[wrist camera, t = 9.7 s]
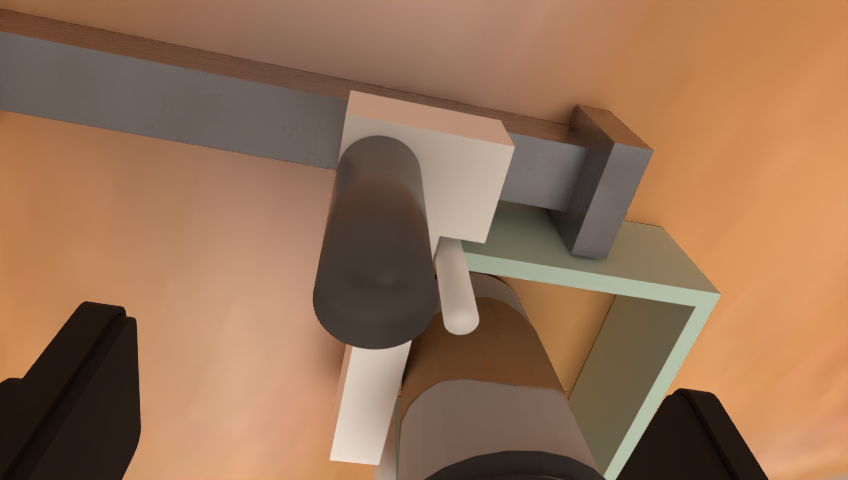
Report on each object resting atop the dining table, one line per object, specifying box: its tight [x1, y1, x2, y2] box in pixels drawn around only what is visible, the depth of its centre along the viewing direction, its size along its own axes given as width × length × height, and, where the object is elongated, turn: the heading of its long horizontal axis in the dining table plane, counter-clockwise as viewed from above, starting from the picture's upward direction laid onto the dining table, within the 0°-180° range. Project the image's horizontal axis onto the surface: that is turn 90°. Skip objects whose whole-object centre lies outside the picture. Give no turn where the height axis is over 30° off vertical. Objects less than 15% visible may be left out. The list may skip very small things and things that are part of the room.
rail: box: [0, 9, 653, 260], centre depth 23 cm, size 5×28×5 cm, turn 78°
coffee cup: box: [398, 272, 606, 480], centre depth 25 cm, size 8×8×15 cm
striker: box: [313, 90, 515, 465], centre depth 22 cm, size 17×6×12 cm, turn 168°
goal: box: [374, 200, 721, 480], centre depth 28 cm, size 15×12×10 cm
